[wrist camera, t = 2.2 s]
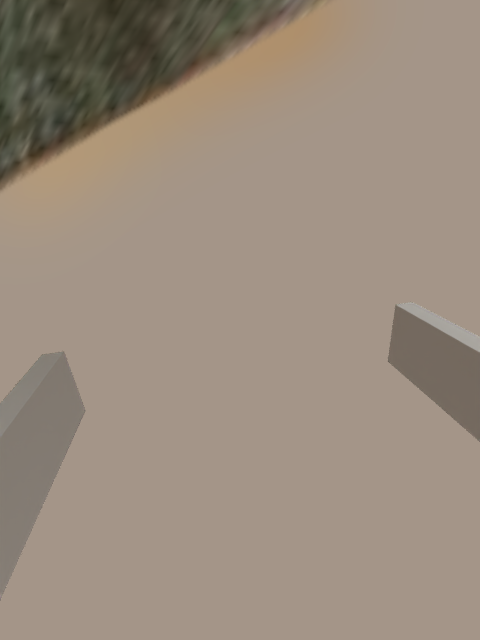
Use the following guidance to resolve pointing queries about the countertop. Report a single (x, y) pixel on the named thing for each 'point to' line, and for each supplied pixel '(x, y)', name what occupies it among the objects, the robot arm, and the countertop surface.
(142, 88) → the countertop surface
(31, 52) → the countertop surface
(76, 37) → the countertop surface
